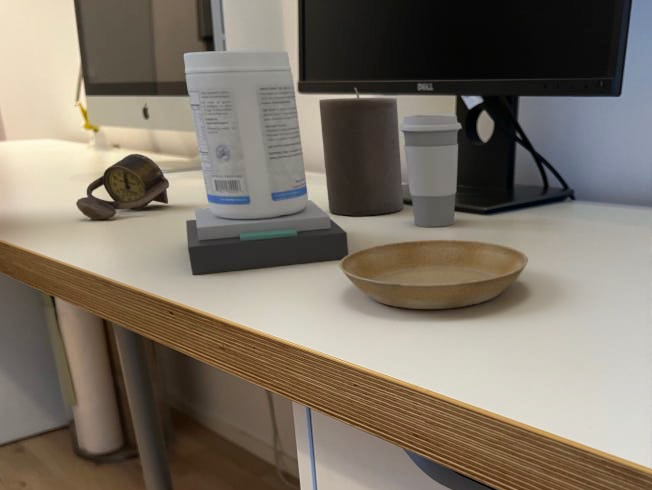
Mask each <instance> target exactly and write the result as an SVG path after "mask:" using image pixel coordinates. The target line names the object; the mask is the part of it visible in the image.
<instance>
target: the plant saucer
mask: <svg viewBox="0 0 652 490" xmlns="http://www.w3.org/2000/svg"><path fill="white" fill-rule="evenodd" d="M348 254H349V255H347V256H345V257H344V258H343V259H340V261H339V262H338V263H339V265H338V266H339V269H340V271H342V272H343V274H344V275H345V277H346V278H347V279H348V280H349V281H350V282H351V283H352V284H353V285H355V286H356V287H357V288H358V290H360V291H361V292H362V293H364V294H365V295H366V296H367V297H369V298H370V299H372V300H374V301H376V302H378V303H381V304H385V305H388V306H393V307H395V308H401V309H402V308H403V309H410V310H411V309H412V310H446V309H447V310H449V309H455V308H463V307H469V306H474V305H478V304H481V302H482V303H485V302H488V301H489V300H492V299H494V298H496V297H497V296H499V295H500V294H502V293H503V292H504V291H505V290H506V289H507V288H508V287H509V286H511V284H513V283H514V281H515V280H517V278H518V277H519V276H520V275H521V274H522V272H523V271H524V269H525V268H526V266H527V265H528V263H529V258H528V256H527V255H526V254H525V253H524V252H523V251H521V250H518V249H515V248H513V247H510V246H505V245H501V244H498V243H491V242H483V241H476V240H463V239H462V240H459V239H429V240H428V239H423V240H410V241H399V242H391V243H385V244H381V245H380V244H378V245H374V246H370V247H366V248H362V249H359V250H356V251H354V252H352V253H348ZM484 301H485V302H484ZM473 304H474V305H473ZM468 305H469V306H468Z"/></svg>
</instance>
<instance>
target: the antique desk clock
mask: <svg viewBox="0 0 652 490" xmlns="http://www.w3.org/2000/svg"><path fill="white" fill-rule="evenodd" d="M102 186H103V187H104V189H105V191H106V192H107V194H108V196H109V197H110V198H111V199H112V200H107V199H101V198H99V197H96V196H94V195H93V192H94V191H96V190H98V189H99V188H100V187H102ZM168 188H170V182H169V179H167V178H166V177H165V175H164V173H163V171H162V169H161V167H159V165H158V164H156V162H155V161H154V160H153V159H151V158H149V157H148V156H146V155H143V154H141V153H140V154H139V153H130V154H128V155H127V156H125V157H123V158H122V159H120V160H119V161H117V162H115V163H114V164H112V165H110V166H109V167H108V168H106V169H105V171H104V172H103V175H102V176H100V177H99V178H97V179H95V180H94V181H92V182H90V183H89V184H88V186H87V187H86V197H81V198H79V199H77V201H76V202H75V205H76V207H77V209H78V210H79V211H80V212H81V213H82V214H83V215H84V216H86V217H87V218H89V219H92V220H108V219H110V218H114V216H115V215H116V214H117V210H132V211H139V210H142V209H144V208H146V207H147V206H148V205H149V204H150V203H152V202H157V203H161V204H166V205H168V204H169V198H168V191H167V189H168Z"/></svg>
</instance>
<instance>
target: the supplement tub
mask: <svg viewBox="0 0 652 490" xmlns="http://www.w3.org/2000/svg"><path fill="white" fill-rule="evenodd" d="M183 61H184V62H183V63H184V67H185V68H184V73H185V82H186V86H187V87H186V88H187V94H188V98H189V105H190V110H191V117H192V121H193V126H194V132H195V137H196V143H197V149H198V154H199V160H200V165H201V171H202V176H203V183H204V188H205V193H206V199H207V203H208V208H210V211H211V212H212V213H213V214H214V215H216V216H218V217H221V218H227V219H264V218H273V217H278V216H281V215H290V214H294V213H297V212H299V211H301V210H303V209H304V208H305V207H306V206H307V203H308V200H309V194H308V187H307V180H306V179H307V177H306V170H305V163H304V162H305V161H304V154H303V147H302V138H301V130H300V123H299V115H298V108H297V107H298V106H297V99H296V91H295V84H294V77H293V72H292V67H291V65H290V58H289V53H288V52H287V51H285V50H270V49H269V50H259V49H258V50H215V51H195V52H194V51H192V52H185V53H184V54H183Z"/></svg>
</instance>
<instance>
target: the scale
mask: <svg viewBox="0 0 652 490" xmlns="http://www.w3.org/2000/svg"><path fill="white" fill-rule="evenodd" d="M194 216H195V219H187V220H186V221H185V225H186V241H187V251H188V257H189V262H190V268H191V273H192V275H193V276H196V275H204V274H216V273H224V272H233V271H243V270H244V271H245V270H253V269H263V268H272V267H280V266H291V265H299V264H300V265H301V264H308V263H318V262H328V261H338V260H342V259H343V258H344V257H345V256H347V255H349V254H350V253H349V244H348V243H349V242H348V232H346V231H345V230H344V229H343V228H342V227H341V226H339V224H338V223H336V222H335V221H334V220H333V219H332V218H331V217H330V215H329V214H328V213H326V212H325V211H324V210H323V209H322V208H321V207H319V205H317V204H316V203H315V202H313V201H312V199H308V203H307V206H306V207H305V208H304V209H303V210H301V211H299V212H297V213H294V214H290V215H281V216H278V217H273V218H264V219H227V218H221V217H218V216H216V215H214V214H213V213H212V212H211V211H210V208H209V207H203V208H201V207H200V208H194Z"/></svg>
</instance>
